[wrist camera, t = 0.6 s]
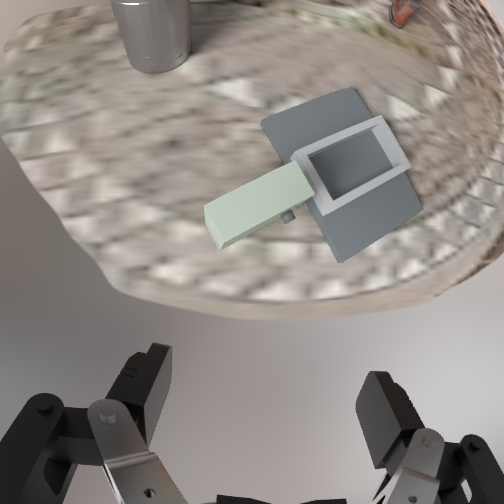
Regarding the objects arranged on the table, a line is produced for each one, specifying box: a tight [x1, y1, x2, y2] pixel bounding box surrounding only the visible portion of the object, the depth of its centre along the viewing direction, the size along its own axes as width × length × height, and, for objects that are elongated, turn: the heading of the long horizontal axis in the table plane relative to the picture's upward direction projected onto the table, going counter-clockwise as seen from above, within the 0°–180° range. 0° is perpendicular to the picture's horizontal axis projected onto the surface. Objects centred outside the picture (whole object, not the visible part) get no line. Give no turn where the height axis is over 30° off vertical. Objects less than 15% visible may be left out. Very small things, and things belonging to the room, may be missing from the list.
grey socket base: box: [260, 87, 423, 263], centre depth 38 cm, size 20×15×4 cm
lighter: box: [389, 0, 421, 29], centre depth 38 cm, size 8×3×10 cm, turn 163°
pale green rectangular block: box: [204, 160, 315, 250], centre depth 32 cm, size 4×9×11 cm, turn 119°
